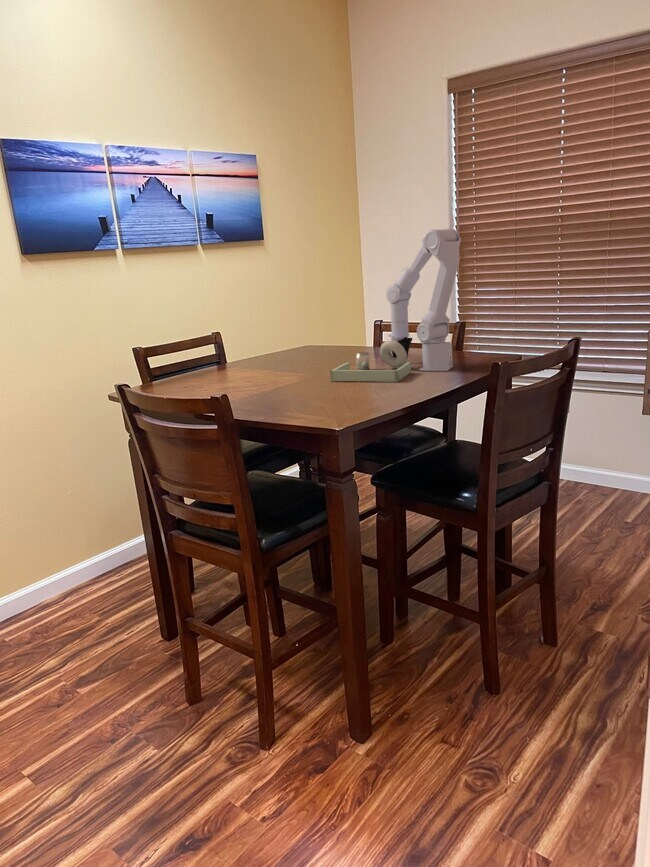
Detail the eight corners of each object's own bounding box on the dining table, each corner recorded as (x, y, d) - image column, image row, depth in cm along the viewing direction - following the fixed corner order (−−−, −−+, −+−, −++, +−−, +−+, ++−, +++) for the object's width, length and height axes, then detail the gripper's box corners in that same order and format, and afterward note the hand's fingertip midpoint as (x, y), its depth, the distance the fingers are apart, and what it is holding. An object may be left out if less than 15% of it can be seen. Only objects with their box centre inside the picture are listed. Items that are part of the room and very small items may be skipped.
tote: (411, 372, 210) (410, 362, 209) (398, 382, 197) (397, 370, 196) (347, 372, 219) (346, 362, 218) (331, 381, 206) (330, 370, 205)
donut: (381, 368, 222) (374, 342, 217) (387, 363, 224) (380, 337, 219) (406, 370, 215) (399, 344, 210) (411, 365, 217) (405, 339, 212)
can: (371, 369, 222) (370, 352, 221) (367, 371, 218) (366, 354, 217) (359, 369, 224) (358, 352, 223) (354, 371, 220) (353, 354, 219)
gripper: (394, 319, 229) (396, 357, 232) (381, 324, 216) (383, 364, 219) (413, 318, 226) (415, 357, 230) (402, 323, 213) (404, 364, 217)
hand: (401, 360), depth 224 cm, fingers open, 7 cm apart
